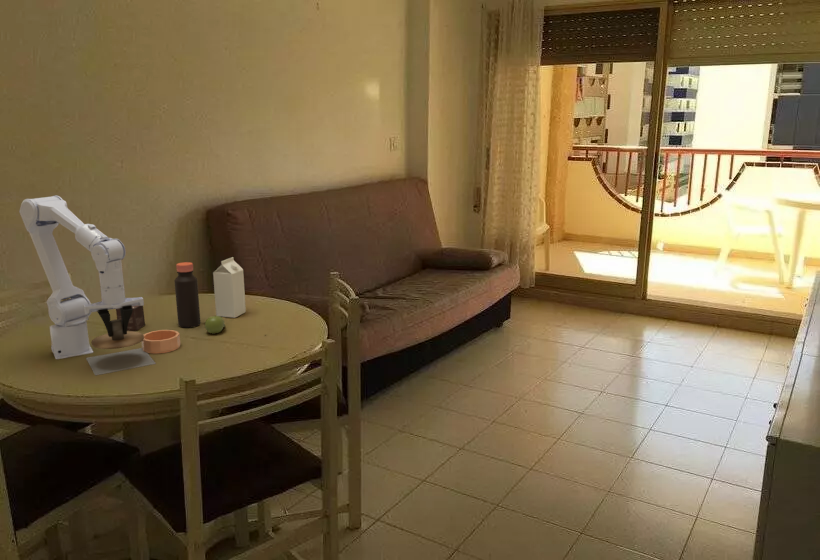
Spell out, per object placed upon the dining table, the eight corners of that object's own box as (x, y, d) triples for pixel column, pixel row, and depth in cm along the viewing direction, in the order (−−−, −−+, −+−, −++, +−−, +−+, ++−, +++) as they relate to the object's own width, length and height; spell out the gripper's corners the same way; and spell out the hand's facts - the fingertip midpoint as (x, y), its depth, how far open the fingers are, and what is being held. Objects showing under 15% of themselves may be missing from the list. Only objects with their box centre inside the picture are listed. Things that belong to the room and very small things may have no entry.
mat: (95, 376, 171) (95, 375, 171) (86, 359, 183) (85, 357, 183) (156, 364, 179) (155, 363, 179) (143, 349, 191) (143, 347, 191)
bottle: (178, 322, 215) (173, 262, 210) (200, 320, 217) (195, 260, 212) (178, 329, 209) (172, 266, 204) (200, 327, 211) (195, 265, 206)
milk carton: (216, 316, 222) (212, 260, 217) (227, 310, 229) (223, 256, 224) (234, 318, 220) (231, 262, 215) (246, 312, 227) (242, 257, 222)
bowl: (147, 357, 185) (146, 343, 184) (139, 346, 193) (138, 333, 192) (184, 350, 190) (183, 336, 189) (174, 340, 198) (173, 327, 197)
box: (145, 325, 213) (143, 303, 211) (136, 331, 207) (134, 308, 205) (127, 324, 213) (125, 302, 211) (117, 330, 207) (115, 308, 206)
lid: (96, 352, 171) (93, 331, 169) (87, 338, 181) (85, 319, 180) (149, 343, 178) (147, 322, 176) (138, 330, 188) (136, 311, 187)
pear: (202, 317, 202) (209, 313, 212) (203, 335, 202) (210, 330, 212) (221, 317, 202) (227, 313, 212) (222, 334, 203) (228, 329, 212)
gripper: (84, 292, 169) (90, 343, 172) (144, 285, 176) (149, 333, 180) (80, 286, 174) (86, 336, 178) (138, 279, 182) (143, 327, 185)
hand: (117, 334), depth 179 cm, fingers closed on lid, 3 cm apart
